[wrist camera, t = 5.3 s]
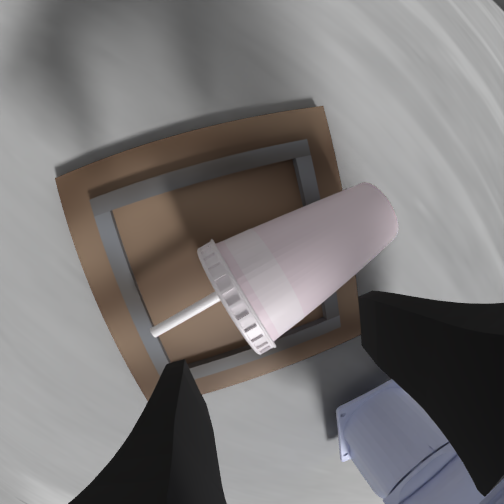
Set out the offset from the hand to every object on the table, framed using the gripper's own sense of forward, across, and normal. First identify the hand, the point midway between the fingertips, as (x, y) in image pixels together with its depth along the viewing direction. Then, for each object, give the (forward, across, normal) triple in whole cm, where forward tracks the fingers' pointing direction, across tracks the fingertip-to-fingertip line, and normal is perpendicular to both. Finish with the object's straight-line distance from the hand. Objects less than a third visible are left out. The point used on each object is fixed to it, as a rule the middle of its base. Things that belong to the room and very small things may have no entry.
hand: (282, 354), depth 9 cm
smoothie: (+6, -9, -2) cm, 11 cm away
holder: (+10, 0, 0) cm, 10 cm away
